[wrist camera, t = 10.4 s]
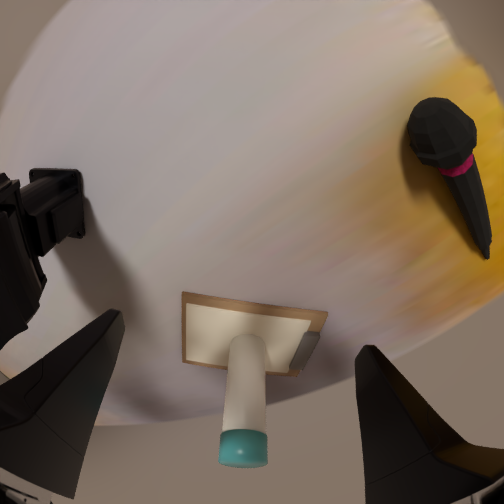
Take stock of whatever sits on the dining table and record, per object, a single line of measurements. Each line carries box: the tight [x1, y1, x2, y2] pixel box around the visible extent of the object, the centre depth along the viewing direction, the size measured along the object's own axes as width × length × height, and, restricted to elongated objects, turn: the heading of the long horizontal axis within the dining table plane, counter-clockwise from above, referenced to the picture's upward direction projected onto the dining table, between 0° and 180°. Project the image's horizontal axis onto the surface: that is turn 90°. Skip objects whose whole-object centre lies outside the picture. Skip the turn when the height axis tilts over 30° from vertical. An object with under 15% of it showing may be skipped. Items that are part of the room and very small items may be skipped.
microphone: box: [408, 97, 492, 260], centre depth 17 cm, size 6×6×20 cm
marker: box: [218, 334, 267, 468], centre depth 22 cm, size 4×4×13 cm
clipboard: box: [182, 292, 328, 377], centre depth 28 cm, size 14×11×1 cm
